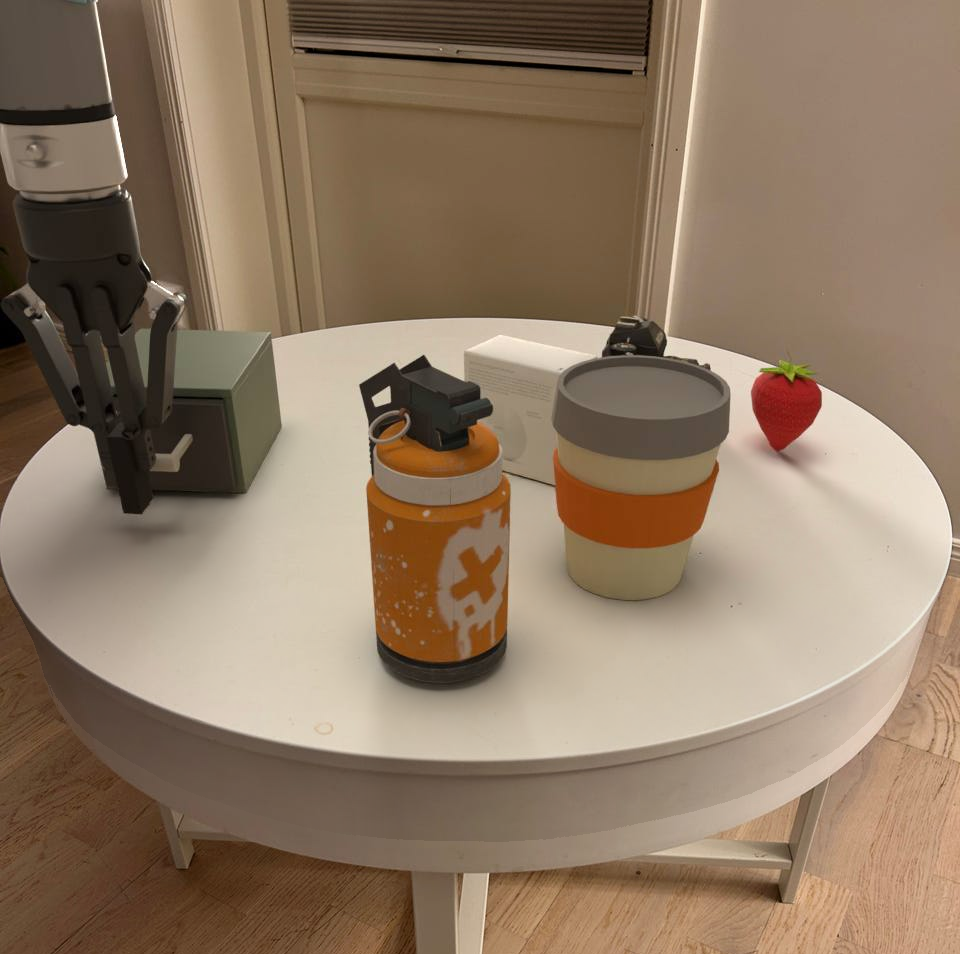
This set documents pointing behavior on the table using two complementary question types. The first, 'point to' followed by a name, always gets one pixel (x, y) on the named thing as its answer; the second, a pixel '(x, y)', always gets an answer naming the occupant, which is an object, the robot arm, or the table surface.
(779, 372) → the strawberry
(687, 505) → the reusable coffee cup
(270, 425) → the small drawer cabinet
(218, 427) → the open drawer
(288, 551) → the table surface
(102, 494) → the table surface
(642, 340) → the film camera
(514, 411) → the cosmetics box
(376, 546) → the canister
